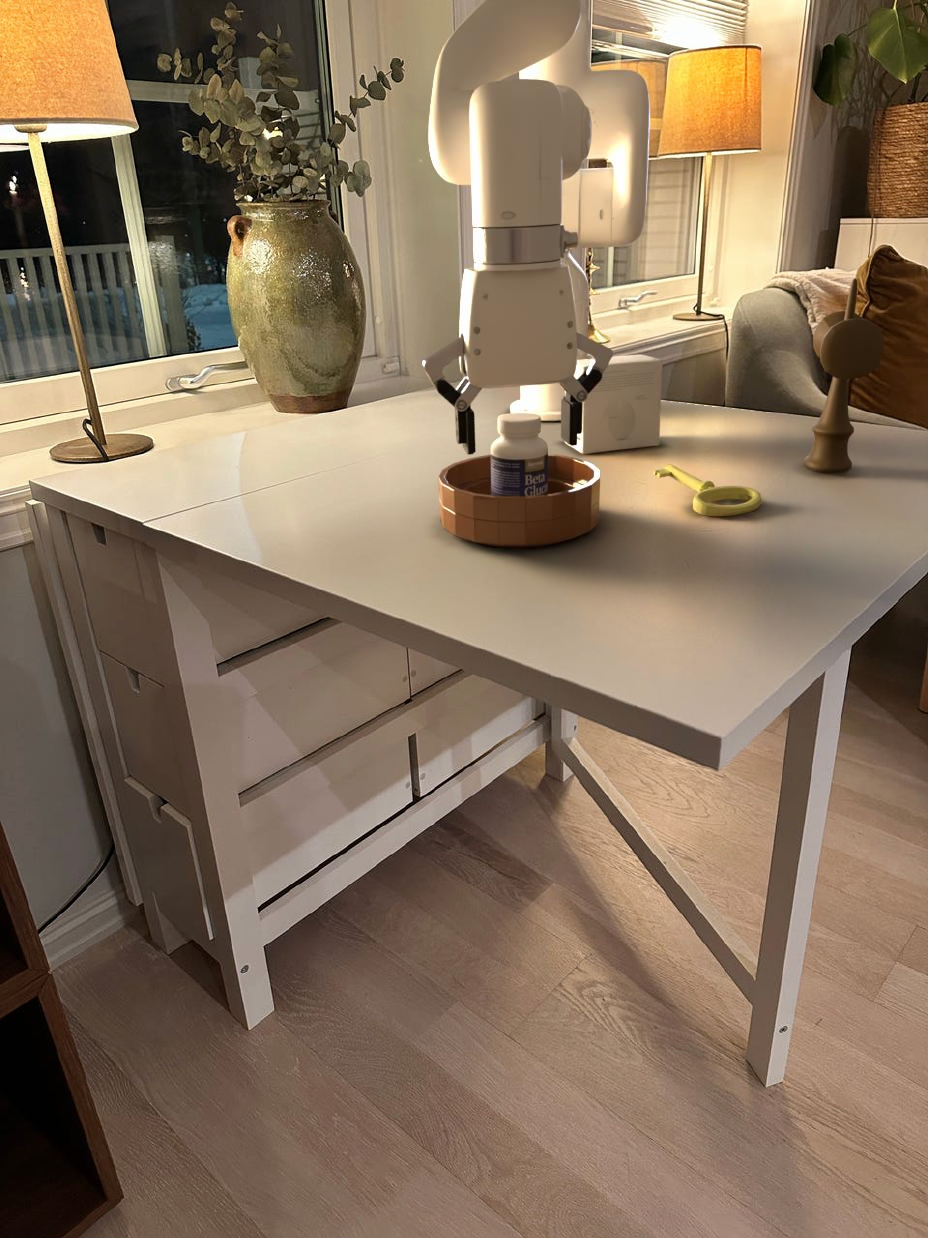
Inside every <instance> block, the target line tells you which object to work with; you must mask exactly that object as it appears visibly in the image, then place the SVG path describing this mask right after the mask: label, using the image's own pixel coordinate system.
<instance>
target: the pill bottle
mask: <svg viewBox="0 0 928 1238" xmlns="http://www.w3.org/2000/svg"><path fill="white" fill-rule="evenodd" d="M541 429H542V421H541V417H540V416H539V415H537V414H532V413H511V412H509V413H504V414H501V415H500V414H499V416H498V417H497V433H498V434H499V435H500V437H498V438H497V439H494V441H493V442H492V443H491V446H490V455H491V495H493V496H535V495H546V494H548V454H549V447H548V443H547V441H546V440H545V439H544V438H542V437H540V436H539V434H540V433H541Z"/></svg>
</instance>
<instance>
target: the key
mask: <svg viewBox="0 0 928 1238" xmlns="http://www.w3.org/2000/svg"><path fill="white" fill-rule="evenodd" d="M652 472H653V473H652V474H653V475H654V476H656V477H657V478H658V479H660V478H665V477H666V478H667V477H670V478H671V479H672V480H675V481H676V482H679V483H680V484H682V485H683V486H686V487H688V488H690V489H691V490H693V491H694V492H697V493H696V494H695V495H694V498H693V500H692V509H693V511H694V512H696V513H697V514H700V515H702V516H706V517H729V516H736V515H741V514H746V513H750V512H754V511H755V510H757V509H758V508H759V507H760V505H761V504H762V494H761V493H760V492H759V491H758V490H757V489H754V488H751V487H748V486H744V485H743V486H742V485H723V486H722V485H721V486H715V483H714V482H713V481H711V480H705V481H703V480H701V479H699V478H698V477H696V476H694V475H692V474H690V473H688V472H687V471H684V470H683V469H681V468H679V467H677V466H675V465H674V464H671V463H669V464H666V465H665V467H664V468H662V469H654V470H653V471H652ZM731 499H732V500H743V501H745V502H742V503H738V504H733V505H722V504H721V505H720V504H713V503H711V502H715V501H721V500H731Z"/></svg>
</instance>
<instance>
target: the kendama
mask: <svg viewBox="0 0 928 1238" xmlns="http://www.w3.org/2000/svg"><path fill="white" fill-rule="evenodd" d="M858 284H859V283H858V279H857V278H853V279H852V280H851V281H850V286H849V290H848V295H847V299H846V300H847V301H846V306H845V310H839V311H835V312H834V311H833V312H831V313H829V314H827V315H826V316H824V317H822V318H821V319H820V321H819V322H818V323H817V324H816V326H815V329H814V332H813V335H812V347H813V350H814V352H815V354H816V356H817V358H818V359H820V361H819V362H820V363H821V366H822V368H823V370H824V372H826V373H827V374H828V375H830V376H832V378H831V383H830V387H829V390H828V394H827V397H826V401H825V404H824V406H823V409H822V412H821V414H820V416H819V418H818V420H817V421H816V422H815V423H813V424H812V426H811V427H812V428H811V431H812V432H813V434H814V441H813V446H812V449H811V451H810V453H809V454H808V455H807V456H806V457H805V458H804V461H803V465H804V467H805V468H806V469H808V470H810V471H813V472H816V473H820V474H841V473H845V472H848V471H850V470H851V469H852V468H853V461H852V460H851V458H850V456H849V452H848V449H849V440H850V437H851V436H852V435H853V434H854V433H855V427H854V425H852V423H851V421H850V415H849V380H856V379H861V378H863V377H865V376H867V375H869V374H871V373H872V372H873V371H874V370H875V369H876V367H877V366H879V364H880V362H881V360H882V357H883V354H884V351H885V337H884V335H883V333H882V330H881V328H880V326H879V325H877V324H875V323H874V322H873V321H871V320H869V319H864V317H863V316H861V315H859V314H857V313H856V305H857V297H858Z"/></svg>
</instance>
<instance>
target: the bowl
mask: <svg viewBox="0 0 928 1238" xmlns="http://www.w3.org/2000/svg"><path fill="white" fill-rule="evenodd" d="M437 481H438V482H437V483H438V501H439V504H438V505H439V521H440V523H441V525H442V527H443V529H444V530H446V531H447V532H448V533H450V534H452V535H454V536H455V537H458V538H461V539H464V540H467V541H470V542H473V543H477V544H480V545H486V546H491V547H500V548H534V547H543V546H549V545H555V544H559V543H563V542H566V541H569V540H571V539H575V538H577V537H580V536H582V535H584V534H586V533H588V532H591V531H592V530H593V529H594V528H595V527H596V526H597V525H598V524H599V523H600V497H601V495H600V494H601V470H600V469H599V468H598V467H597V466H596V465H594V464H593V463H591V462H588V461H586V460H584V459H580V458H578V457H574V456H568V455H563V454H556V453H555V454H554V453H548V494H546V495H535V496H493V495H491V454H485V455H481V456H475V457H470V458H466V459H463V460H460V461H456V462H455V463H454V462H453V463H451V464H450V465H448V466H446V467H444V468H443V469H442V470H441V471H440V473H439V475H438V476H437Z"/></svg>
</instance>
